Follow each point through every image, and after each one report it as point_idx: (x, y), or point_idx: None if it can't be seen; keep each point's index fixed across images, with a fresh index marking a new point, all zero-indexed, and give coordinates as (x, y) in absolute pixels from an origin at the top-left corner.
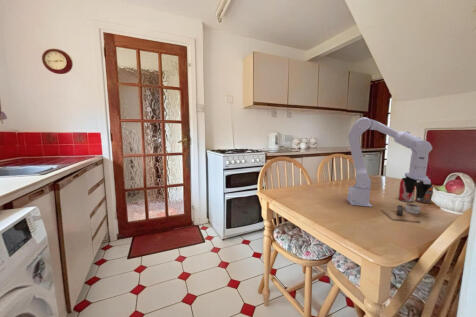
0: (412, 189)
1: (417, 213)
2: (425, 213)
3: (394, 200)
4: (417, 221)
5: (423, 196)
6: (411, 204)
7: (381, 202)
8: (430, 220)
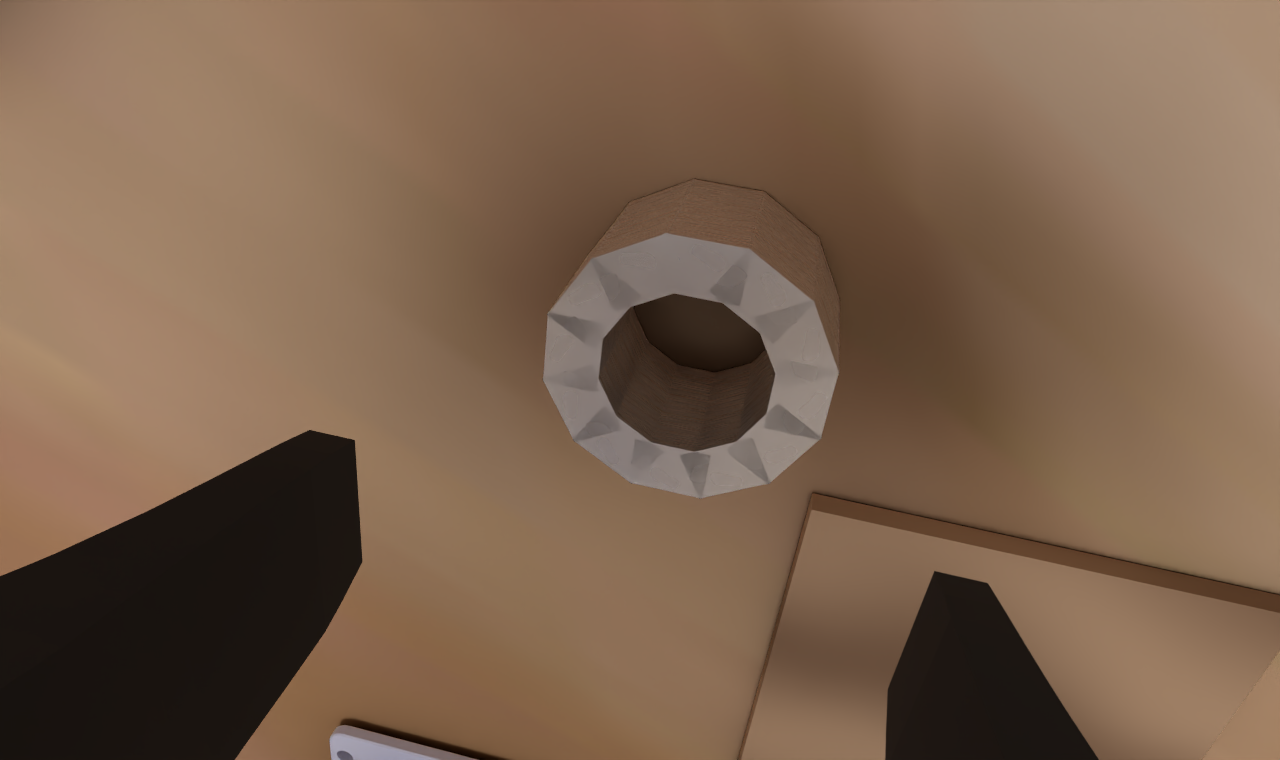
0: (264, 533)
1: (836, 292)
2: (803, 66)
3: (25, 166)
4: (1275, 648)
5: (1013, 643)
6: (603, 343)
7: None
8: (1218, 309)
